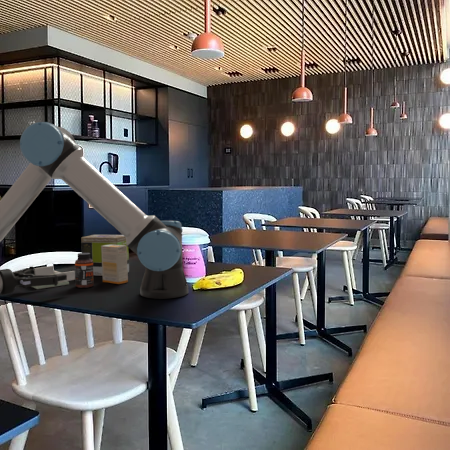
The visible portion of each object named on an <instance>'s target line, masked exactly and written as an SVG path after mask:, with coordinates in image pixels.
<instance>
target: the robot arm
mask: <svg viewBox="0 0 450 450" xmlns="http://www.w3.org/2000/svg"><path fill="white" fill-rule="evenodd" d="M19 148H20V152H21V154H22V156H23V157H24V159H25V160H26V161H28V163H29V164H28V165H27V167H25V169H24V170H23V172H22V173H21V174H20V175H19V176H18V178H17V179H16V181H14V182H13V184H12V185H11V187H9V189H8V190H7V192H6V193H5V194H4V195H3V196H2V198H1V199H0V243H1V242H2V241H3V240H4V239H5V238H6V237H7V234H9V233H10V231H11V230H12V228H13V227H14V226H15V225H16V223H17V222H18V221H19V220H20V218H21V217H22V216H23V215H24V214H25V212H26V211H27V210H28V209H29V207H30V206H31V205H32V204H33V202H34V201H35V200H36V198H37V197H39V195H40V193H42V191H43V190H44V189H45V188H46V186H47V185H48V184H49V183H50V182H51V180H52V179H53V180H62V181H63V182H64V183H65V184H66V185H67V186H68V187H70V188H71V190H73V191H74V192H75V193H76V194H77V195H78V196H79V197H81V198H82V199H83V200H84V201H85V202H86V203H87V204H88V205H89V206H90V207H92V209H94V210H95V211H96V212H97V213H98V214H99V215H100V216H101V217H102V218H104V219H105V220H106V222H108V223H109V224H110V225H112V226H113V228H114V229H116V231H118V232H119V233H120V235H124V236H125V237H126V245H127V246H128V249H129V250H131V251H132V252H133V253H134V254H135V255H137V258H138V260H139V261H140V263H141V265H143V266H144V267H145V269H144V270H145V271H144V274H143V277H142V280H141V284H140V288H139V291H140V293H139V294H140V296H142V297H144V298H147V299H158V300H163V299H164V300H167V299H174V298H175V299H177V298H180V297H181V298H182V297H184V296H187V295H188V294H189V284H188V281H187V277H186V275H185V271H184V267H183V228H182V227H183V225H182V223H181V222H180V221H178V220H160V218H158V217H157V216H156V215H147V214H146V213H145V212H143V210H141V208H140V207H139V206H137V205H136V204H135V203H134V202H133V201H131V199H129V198H128V196H126V195H125V194H124V193H123V192H122V191H121V190H120V189H118V187H117V186H116V185H114V184H113V183H112V182H111V181H110V180H109V179H108V178H107V177H106V176H105V175H103V174H102V173H101V172H100V171H99V170H98V169H97V168H96V167H95V166H94V165H92V164H91V163H90V162H89V161H88V160H87V159H86V158H85V157H84V153H83V152H84V149H83V148H82V147H81V146H80V145H78V143H77V142H76V140H75V138H74V135H72V133H71V132H70V131H68V130H67V129H65V127H61V126H57V125H55V124H53V122H48V121H38V122H34V123H32V124H30V125H28V126H27V127H25V129H24V131H23V132H22V134H21V136H20V140H19ZM54 270H55V266H54V265H49V266H41V267H36V268H35V267H34V266H33V265H31V266H29V268H27V267H26V268H23V269H19V270H15V271H12V270H11V269H10V268H4V269H0V296H3V295H4V296H5V295H10V294H13V293H14V291H15V289H16V287H17V286H18V287H19V288H29V287H31V286H43V285H55V286H54V287H57V286H56V285H57V284H58V282H64V281H68V282H69V281H74V280H75V270H72V271H71V270H70V271H65V272H61V273H57V274H54ZM51 274H54V275H51ZM31 288H32V287H31Z"/></svg>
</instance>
